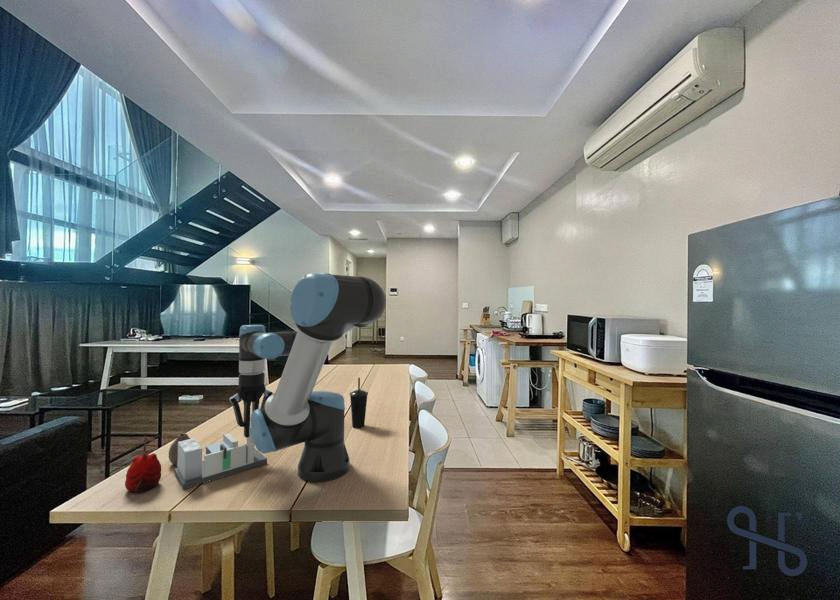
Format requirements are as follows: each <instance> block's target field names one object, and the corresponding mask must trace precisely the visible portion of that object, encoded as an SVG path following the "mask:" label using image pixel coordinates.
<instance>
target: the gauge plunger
mask: <svg viewBox="0 0 840 600" xmlns="http://www.w3.org/2000/svg"><path fill="white" fill-rule="evenodd" d="M222 435H223V438H222V441H221V442H216V443H212V444H208V445H206V446H205V455H207V454H211V453H214V452H218V451H222V450H224V455H223V458H224V459H226V452H227V449H230V448H233V447H237V446H239V441H238V439H236V438H235V437H234V436H233V435H232V434H231V433H229V432H228V433H224V434H222Z"/></svg>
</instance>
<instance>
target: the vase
mask: <svg viewBox="0 0 840 600" xmlns="http://www.w3.org/2000/svg"><path fill="white" fill-rule="evenodd" d="M188 439H192V438H191V437H190V436H189V435H188V434H187V433H181V434H177V437H176V439H175V440H174V441H173V442H172V444H171V445H170V447H169V449H168V460H169V462H170V463H171V464H172V465H174V466H177V463H178V442H179V441H184V440H188Z"/></svg>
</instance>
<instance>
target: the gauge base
mask: <svg viewBox="0 0 840 600" xmlns="http://www.w3.org/2000/svg"><path fill="white" fill-rule="evenodd" d="M223 455H224V450H222V451H218V452H214V453H211V454H207V455H206V454H204V455H203V456H204V460H202V477H200V478H196V479H193V480H190V481H186V482H184V480H183V478H182V477H181V475H180V473H179V471H178V470H177V467H176V468H174V476H175V478H176V479H177V481H178V483H179V485H180V487H181V488H182V490H183V489H184V490H187V489H189V488H188V487H190V488H192V487H191V486H193V487H195V486H194V485H196V486H198V485H197V484H200V485H202V484H201V483H203V484H205V483H204V482H206V483H208V482H207V481H209V480H212V481H214V480H213V479H216V478H219V477H222V476H225V477H227V476H226V475H228V476H230V474H232V475H235V474H237V472H238V473H241V472H244V471H248V470H250V468H251V469H254V468H257V467H260V466H263V464H264V465H266V463H267V464H268V458H267V457H266V456H264V455H263V453H261V452H259V451H258V449H257V448H255V447H254V443H249V444H247V443H245V444H242V445H238V446H237V447H233V448H230V449H227V452H226V459H224V458H223ZM247 469H248V470H247ZM240 471H241V472H240ZM234 473H235V474H234ZM222 478H223V477H222ZM219 479H220V478H219ZM216 480H217V479H216ZM209 482H210V481H209ZM186 488H187V489H186Z"/></svg>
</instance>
